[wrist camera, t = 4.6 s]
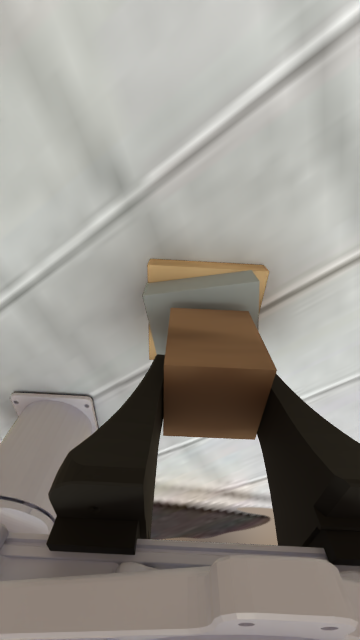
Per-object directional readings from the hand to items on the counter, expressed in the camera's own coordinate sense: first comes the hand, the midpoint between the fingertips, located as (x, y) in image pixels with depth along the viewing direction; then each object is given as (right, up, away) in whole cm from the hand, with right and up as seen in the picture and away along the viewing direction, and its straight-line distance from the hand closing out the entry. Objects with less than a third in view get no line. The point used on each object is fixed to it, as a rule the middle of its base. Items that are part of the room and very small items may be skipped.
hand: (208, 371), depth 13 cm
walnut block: (0, +1, +2) cm, 2 cm away
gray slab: (0, +3, +5) cm, 5 cm away
